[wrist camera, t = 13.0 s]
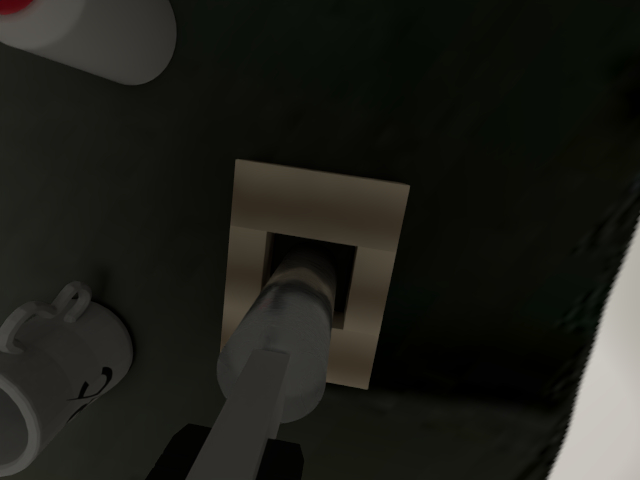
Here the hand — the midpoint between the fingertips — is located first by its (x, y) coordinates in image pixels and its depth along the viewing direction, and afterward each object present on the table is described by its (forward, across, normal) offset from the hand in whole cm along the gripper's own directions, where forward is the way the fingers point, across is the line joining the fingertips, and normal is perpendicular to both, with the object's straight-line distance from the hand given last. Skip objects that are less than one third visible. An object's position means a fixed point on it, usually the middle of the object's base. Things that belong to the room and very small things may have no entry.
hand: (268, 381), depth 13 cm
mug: (+15, -19, -9) cm, 26 cm away
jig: (+14, 0, 0) cm, 14 cm away
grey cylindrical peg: (+14, 0, 0) cm, 14 cm away
